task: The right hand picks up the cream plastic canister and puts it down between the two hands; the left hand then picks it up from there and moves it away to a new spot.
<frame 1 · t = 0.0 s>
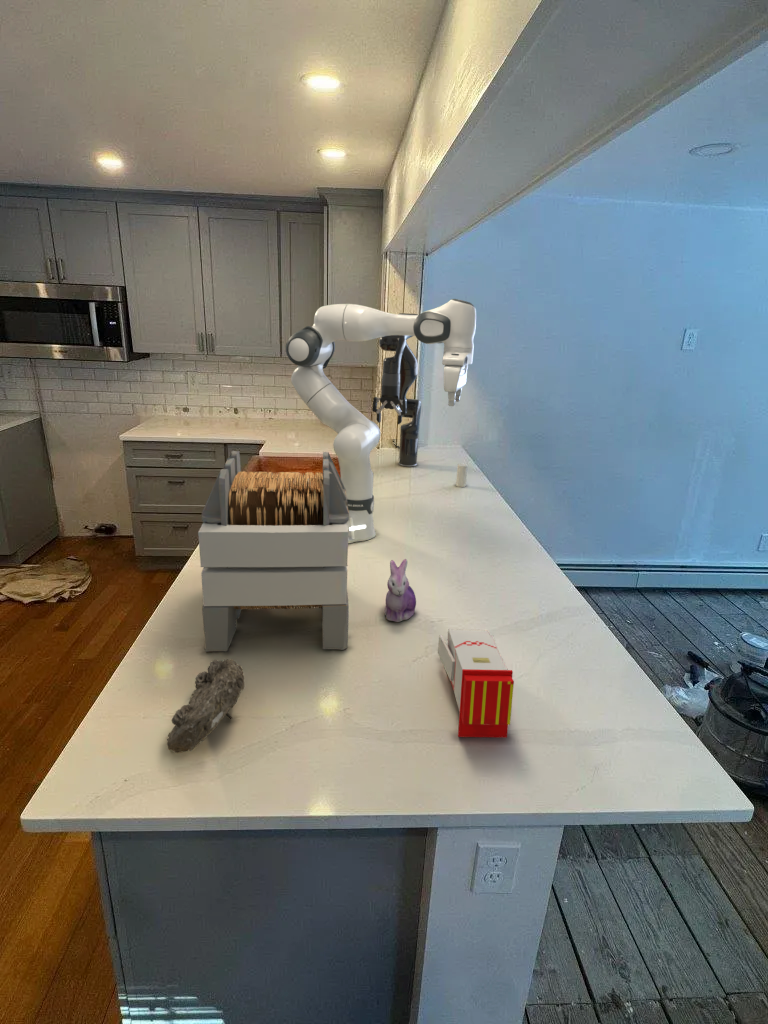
left hand: (454, 403, 174), 48 cm above the counter, tool pointing down, fingers open, 8 cm apart
right hand: (388, 423, 238), 29 cm above the counter, tool pointing down, fingers open, 8 cm apart
canister: (460, 485, 259), on the counter
grey record crate: (281, 614, 145), on the counter
fossil: (212, 717, 108), on the counter
figurine: (399, 614, 147), on the counter
toy: (469, 691, 119), on the counter
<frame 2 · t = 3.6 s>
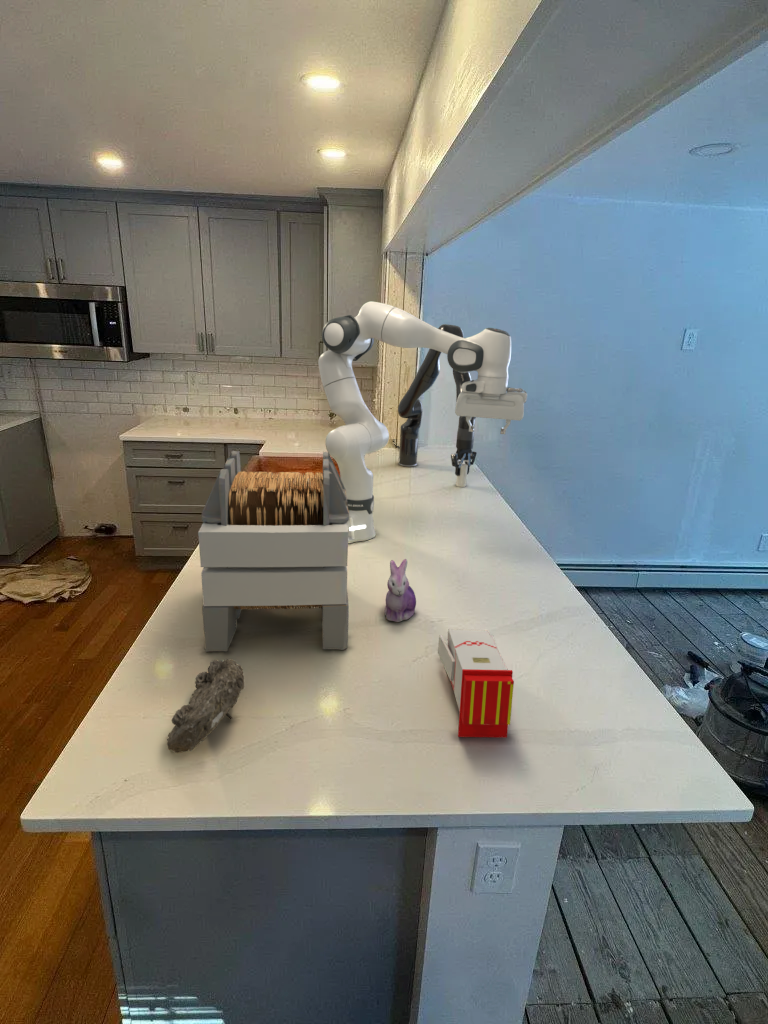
left hand: (486, 432, 171), 41 cm above the counter, tool pointing down, fingers open, 8 cm apart
right hand: (461, 474, 257), 5 cm above the counter, tool pointing down, fingers closed on canister, 4 cm apart
canister: (460, 485, 259), on the counter, touching right hand
everything else where it was.
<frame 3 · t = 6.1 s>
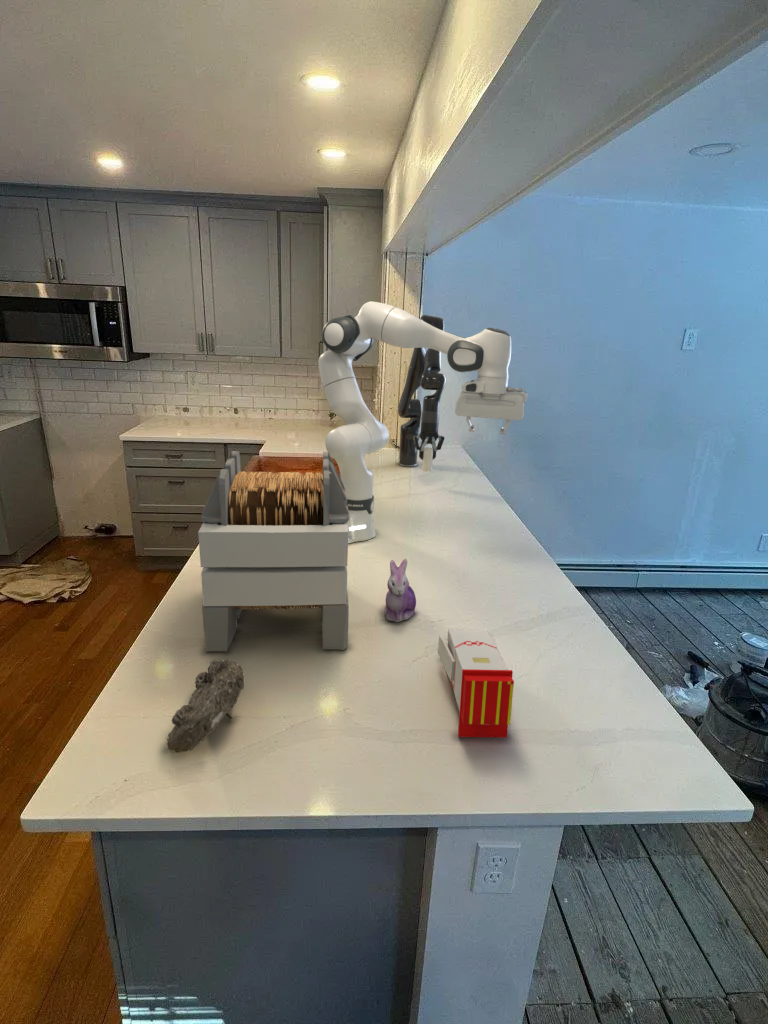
left hand: (486, 432, 171), 41 cm above the counter, tool pointing down, fingers open, 8 cm apart
right hand: (427, 458, 249), 13 cm above the counter, tool pointing down, fingers closed on canister, 4 cm apart
canister: (426, 470, 251), point 8 cm above the counter, touching right hand
everything else where it was.
when the right hand's fingers open (7 cm above the counter, at t = 8.8 s): canister drops 1 cm, on the counter.
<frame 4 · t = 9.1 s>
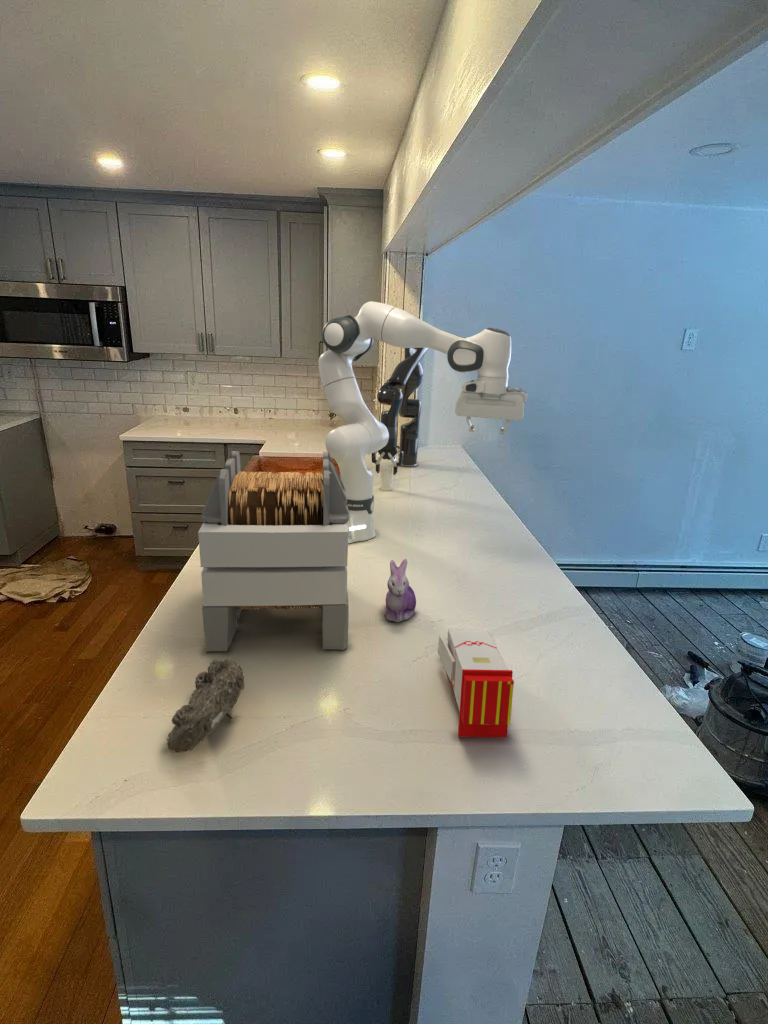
left hand: (486, 432, 171), 41 cm above the counter, tool pointing down, fingers open, 8 cm apart
right hand: (386, 473, 246), 7 cm above the counter, tool pointing down, fingers open, 6 cm apart
canister: (385, 489, 249), on the counter
everything else where it was.
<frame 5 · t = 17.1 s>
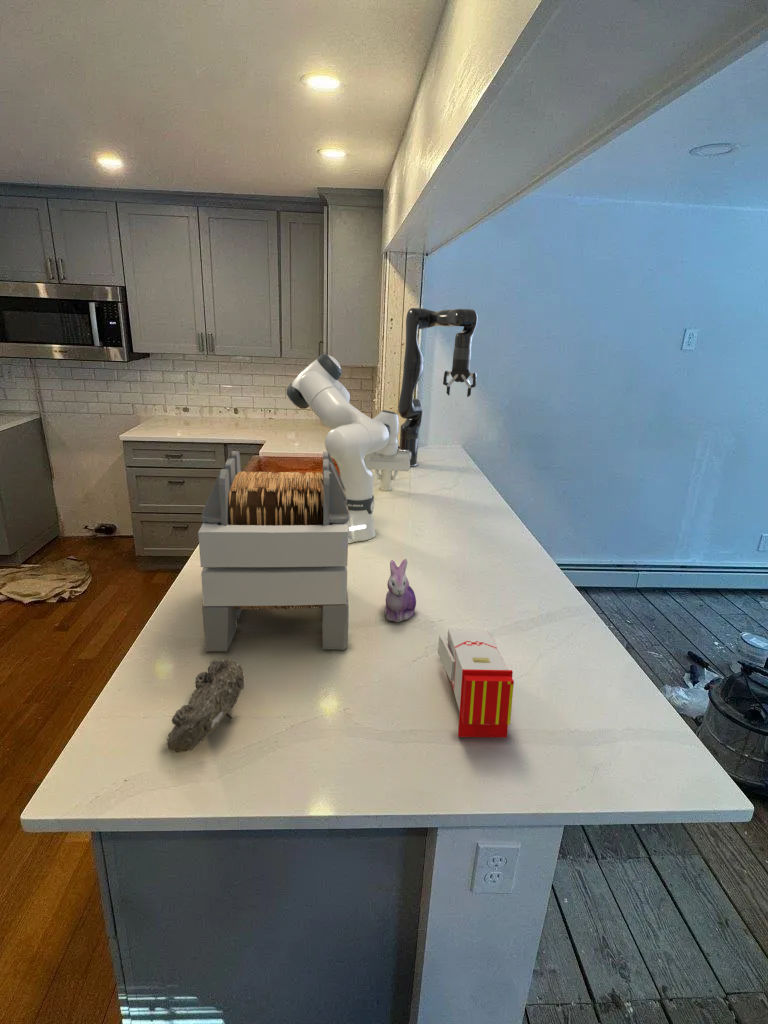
left hand: (386, 479, 247), 4 cm above the counter, tool pointing down, fingers closed on canister, 4 cm apart
right hand: (458, 395, 250), 40 cm above the counter, tool pointing down, fingers open, 8 cm apart
canister: (385, 489, 249), on the counter, touching left hand
everything else where it was.
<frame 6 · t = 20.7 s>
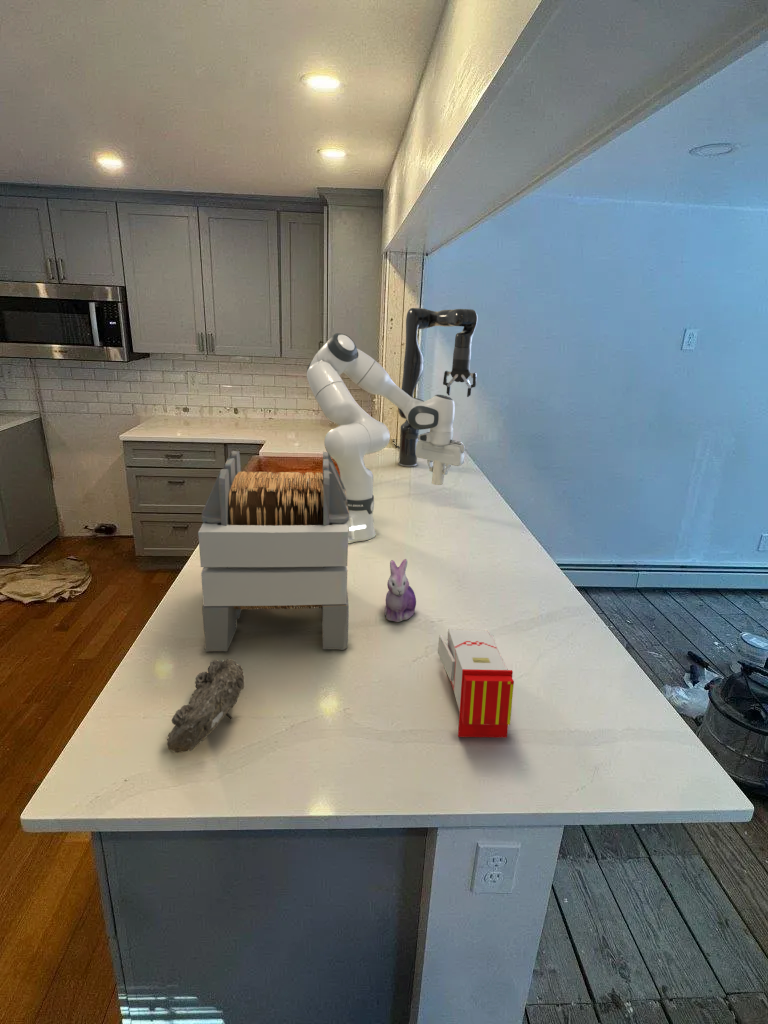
left hand: (438, 472, 222), 15 cm above the counter, tool pointing down, fingers closed on canister, 4 cm apart
right hand: (458, 395, 250), 40 cm above the counter, tool pointing down, fingers open, 8 cm apart
canister: (437, 483, 224), point 10 cm above the counter, touching left hand
everything else where it was.
when the left hand's fingers open (6 cm above the counter, at t = 24.5 s): canister drops 2 cm, on the counter.
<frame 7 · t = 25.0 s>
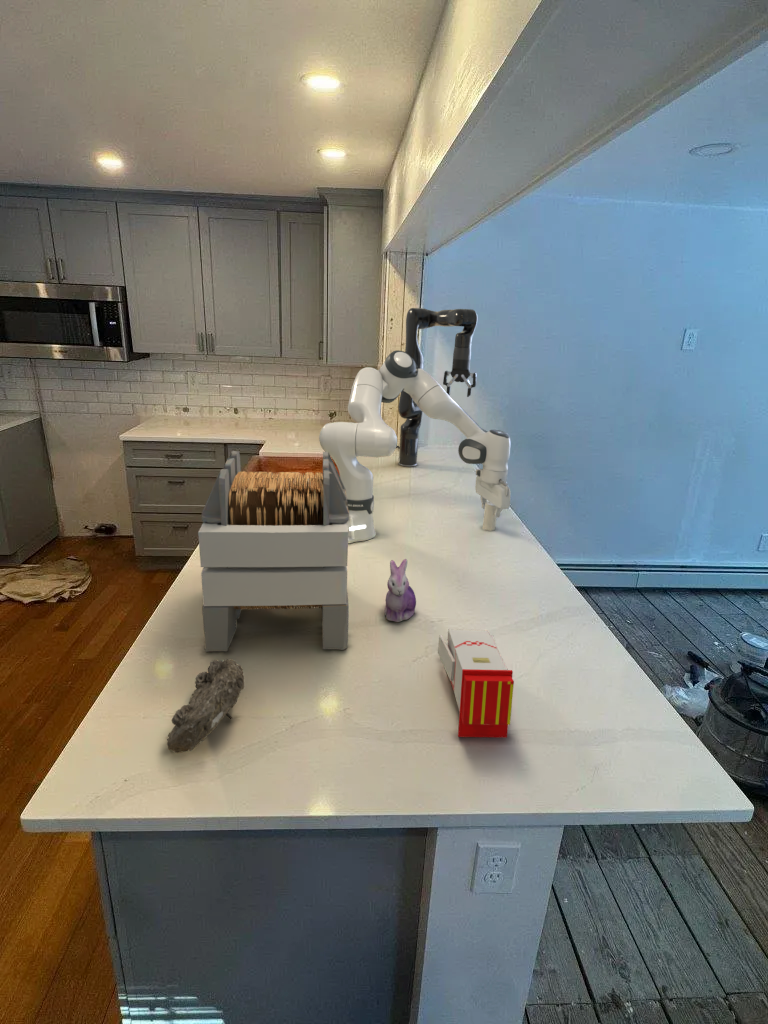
left hand: (490, 512, 206), 6 cm above the counter, tool pointing down, fingers open, 8 cm apart
right hand: (458, 395, 250), 40 cm above the counter, tool pointing down, fingers open, 8 cm apart
canister: (488, 528, 209), on the counter
everything else where it was.
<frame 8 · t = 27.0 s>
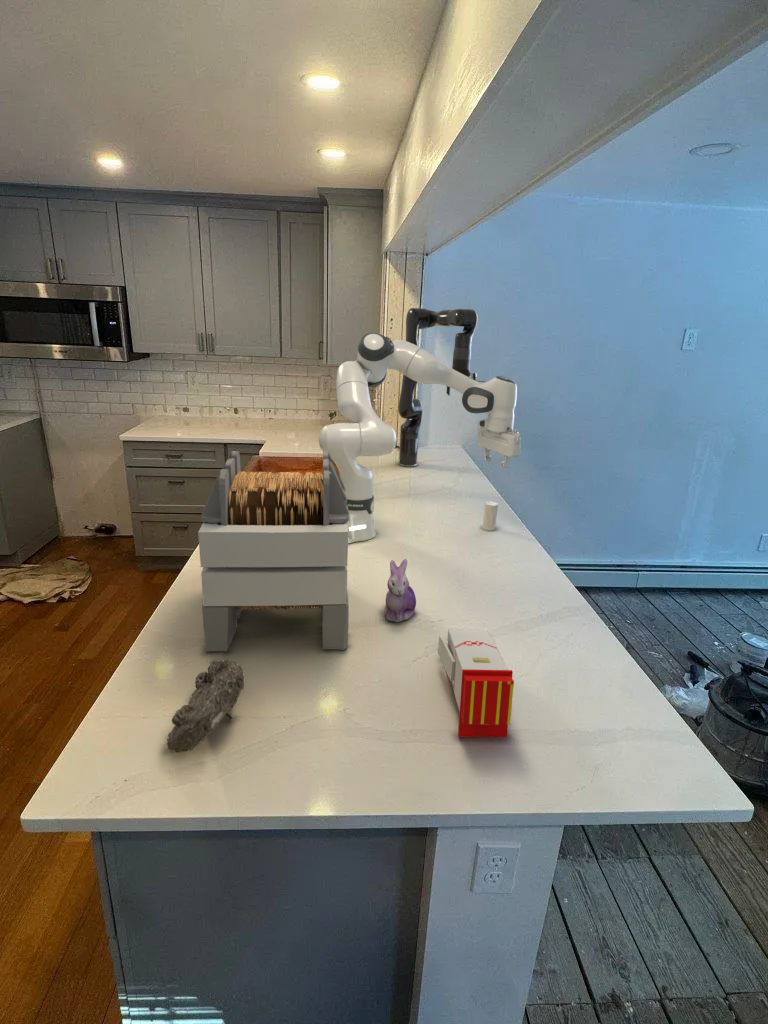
left hand: (495, 463, 200), 25 cm above the counter, tool pointing down, fingers open, 8 cm apart
right hand: (458, 395, 250), 40 cm above the counter, tool pointing down, fingers open, 8 cm apart
nothing on the counter moved.
at the end: canister inside the target area (0.2 cm from its centre), on the counter; canister tilted 0°; the two hands never held the canister at the same time; the left hand is holding nothing; the right hand is holding nothing; canister at rest at the end (0.0 cm/s) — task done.
